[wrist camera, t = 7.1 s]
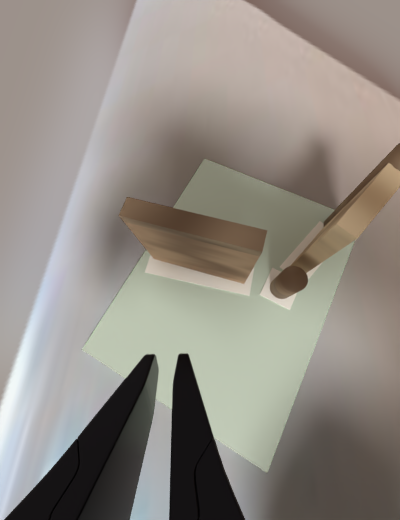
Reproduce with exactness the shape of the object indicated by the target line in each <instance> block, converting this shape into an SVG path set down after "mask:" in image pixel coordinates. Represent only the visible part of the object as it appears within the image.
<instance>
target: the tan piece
mask: <svg viewBox="0 0 400 520" xmlns="http://www.w3.org/2000/svg"><path fill="white" fill-rule="evenodd" d="M399 187H400V143H399V144H398V145H397V146H396V147H395V148H394V149H393V150H392V151H391V152H390V153H389V154H388V155H387V156H386V157H385V158H384V159H383V160H382V161H381V162H380V164H379V165H378V166H377V167H376V168H375V169H374V170H373V171H372V172H371V173H370V174H369V175H368V176H367V177H366V178H365V179H364V180H363V181H362V182H361V183H360V184H359V185H358V186H357V188H356V189H355V190H354V191H353V192H352V193H351V194H350V195H349V196H348V197H347V198H346V199H345V200H344V201H343V202H342V203H341V204H340V205H339V206H338V207H337V208H336V209H335V211H334V212H333V213H332V214H331V215H330V216H329V217H328V218H327V219H326V220H325V221H324V228H323V229H322V230H321V231H320V232H319V233H318V234H317V236H316V237H315V238H314V239H313V240H312V241H311V242H310V244H309V245H308V246H307V247H306V248H305V249H304V251H303V252H302V253H301V254H300V255H299V256H298V257H297V259H296V260H295V261H294V262H293V263H292V264H291V265H290V266H289V267H287V268H285V269H284V270H283V271H282V272H281V273H280V274H279V275H278V276H277V277H276V278H275V279H274V280H273V281H272V282H271V284H270V291H271V293H272V294H273V295H274V296H275V297H276V298H279V299H285V298H288V297H290V296H291V295H293V294H295V293H297V292H299V291H301V290H303V289H304V288H305V287H306V286H307V284H308V276H307V274H306V273H307V272H309V271H310V270H312V269H313V268H315V267H316V266H318V265H319V264H320V263H322V262H323V261H325V260H326V259H328V258H329V257H331V256H332V255H334V254H335V253H337V252H338V251H340V250H341V249H343V248H344V247H346V246H347V245H348V244H350V243H351V242H353V241H354V240H356V239H357V238H358V237H359V236H360V235H361V233H362V232H363V231H364V230H365V229H366V227H367V226H368V225H369V224H370V222H371V221H372V220H373V219H374V218H375V216H376V215H377V214H378V213H379V211H380V210H381V209H382V208H383V207H384V205H385V204H386V203H387V202H388V200H389V199H390V198H391V197H392V196H393V194H394V193H395V192H396V191H397V189H398V188H399Z"/></svg>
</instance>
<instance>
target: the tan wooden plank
mask: <svg viewBox="0 0 400 520" xmlns="http://www.w3.org/2000/svg"><path fill="white" fill-rule="evenodd" d="M119 217H120V218H121V219H122V220H123V222H125V224H126V225H127V226H128V227H129V229H130V230H131V231H132V232H133V234H134V235H135V236H136V237H137V239H138V240H139V241H140V242H141V243H142V245H143V246H144V247H145V248H146V250H147V251H148V252H149V253H150V255H151V256H152V257H153V258H154V259H156V260H159V261H163V262H167V263H170V264H174V265H177V266H181V267H185V268H188V269H192V270H195V271H199V272H203V273H206V274H210V275H213V276H217V277H221V278H224V279H228V280H231V281H235V282H239V283H242V284H244V283H245V282H246V280H247V278H248V276H249V274H250V273H251V271H252V269H253V267H254V266H255V264H256V262H257V260H258V259H259V257H260V255H261V253H262V251H263V247H264V243H265V239H266V234H267V230H264V229H260V228H256V227H251V226H247V225H243V224H239V223H235V222H230V221H226V220H222V219H218V218H214V217H209V216H205V215H201V214H197V213H193V212H188V211H184V210H180V209H176V208H172V207H167V206H163V205H159V204H155V203H151V202H146V201H142V200H138V199H134V198H130V197H127V198H126V201H125V203H124V205H123V207H122V209H121V212H120V214H119Z"/></svg>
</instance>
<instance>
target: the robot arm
mask: <svg viewBox="0 0 400 520" xmlns="http://www.w3.org/2000/svg"><path fill="white" fill-rule="evenodd" d="M158 374H159V367H158V363H157V358H156V355H155V354H146V355H144V356H143V358H142V359H141V360H140V361H139V363H138V364H137V365H136V366H135V368H134V369H133V370H132V371H131V372H130V374H129V375H128V376H127V377H126V379H125V380H124V381H123V382H122V383H121V385H120V386H119V387H118V388H117V390H116V391H115V392H114V393H113V395H112V396H111V397H110V398H109V399H108V401H107V402H106V403H105V404H104V406H103V407H102V408H101V409H100V411H99V412H98V413H97V414H96V415H95V417H94V418H93V419H92V420H91V422H90V423H89V424H88V425H87V427H86V428H85V429H84V430H83V431H82V433H81V434H80V435H79V436H78V439H76V440H75V441H74V442H73V444H72V445H71V446H70V447H69V448H68V450H67V451H66V452H65V453H64V454H63V456H62V457H61V458H60V459H59V460H58V462H57V463H56V464H55V465H54V466H53V467H52V469H51V470H50V471H49V472H48V473H47V474H46V475H45V476H44V477H43V479H42V480H41V481H40V482H39V483H38V484H37V485H36V486H35V487H34V488H33V490H32V491H31V492H30V493H29V494H28V495H27V496H26V497H25V498H24V499H23V500H22V501H21V502H20V503H19V504H18V506H17V507H16V508H15V509H14V510H13V511H12V512H11V513H10V514H9V515H8V516H7V517H6V518H5V519H4V520H130V516H131V511H132V507H133V503H134V498H135V494H136V489H137V485H138V481H139V476H140V472H141V468H142V463H143V459H144V454H145V450H146V446H147V441H148V437H149V432H150V428H151V424H152V419H153V414H154V407H155V399H156V391H157V383H158ZM169 520H245V518H244V516H243V513H242V511H241V509H240V506H239V504H238V502H237V499H236V497H235V495H234V492H233V490H232V487H231V485H230V482H229V480H228V477H227V475H226V472H225V470H224V467H223V464H222V461H221V458H220V455H219V452H218V449H217V445H216V442H215V439H214V436H213V433H212V429H211V426H210V423H209V419H208V416H207V413H206V410H205V406H204V403H203V400H202V396H201V393H200V390H199V387H198V383H197V380H196V377H195V373H194V370H193V367H192V364H191V360H190V357H189V354H188V353H180V354H179V355H178V358H177V363H176V368H175V374H174V379H173V391H172V432H171V472H170V513H169Z"/></svg>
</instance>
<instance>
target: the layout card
mask: <svg viewBox="0 0 400 520" xmlns="http://www.w3.org/2000/svg"><path fill="white" fill-rule="evenodd" d="M173 208H176V209H180V210H184V211H188V212H193V213H197V214H201V215H205V216H209V217H214V218H218V219H222V220H226V221H230V222H235V223H239V224H243V225H247V226H251V227H256V228H260V229H264V230H267V234H266V239H265V243H264V247H263V251H262V253H261V255H260V257H259V259H258V260H257V262H256V264H255V266H254V267H253V269H252V271H251V273H250V274H249V276H248V278H247V280H246V282H245V283H244V284H242V283H239V282H235V281H231V280H228V279H224V278H221V277H217V276H213V275H210V274H206V273H203V272H199V271H195V270H192V269H188V268H185V267H181V266H177V265H174V264H170V263H167V262H163V261H159V260H156V259H154V258H153V257H152V256H151V255H150V253H149V252H148V251H147V250H145V252H144V253H143V255H142V257H141V258H140V260H139V261H138V263H137V264H136V266H135V268H134V269H133V271H132V272H131V274H130V275H129V277H128V278H127V280H126V282H125V283H124V285H123V286H122V288H121V289H120V291H119V292H118V294H117V296H116V297H115V299H114V300H113V302H112V303H111V305H110V306H109V308H108V310H107V311H106V313H105V314H104V316H103V317H102V319H101V321H100V322H99V324H98V325H97V327H96V328H95V330H94V331H93V333H92V335H91V336H90V338H89V339H88V341H87V342H86V344H85V345H84V347H83V349H82V350H83V351H85V352H86V353H88V354H89V355H91V356H92V357H94V358H95V359H97V360H98V361H100V362H101V363H103V364H104V365H106V366H107V367H109V368H110V369H112V370H113V371H115V372H116V373H118V374H119V375H121V376H122V377H124V378H125V379H126V377H127V376H128V375H129V374H130V372H131V371H132V370H133V369H134V368H135V366H136V365H137V364H138V363H139V361H140V360H141V359H142V358H143V356H144V355H146V354H155V355H156V358H157V363H158V367H159V374H158V383H157V391H156V399H157V400H158V401H160V402H161V403H163V404H164V405H166V406H167V407H169V408H170V409H172V391H173V379H174V374H175V368H176V363H177V358H178V355H179V354H180V353H188V354H189V357H190V360H191V364H192V367H193V370H194V373H195V377H196V380H197V383H198V387H199V390H200V393H201V396H202V400H203V403H204V406H205V410H206V413H207V416H208V419H209V423H210V426H211V429H212V433H213V436H214V438H215V439H216V440H218V441H219V442H221V443H222V444H224V445H225V446H227V447H228V448H230V449H231V450H233V451H234V452H236V453H237V454H239V455H240V456H242V457H243V458H245V459H246V460H248V461H249V462H251V463H252V464H254V465H255V466H257V467H258V468H260V469H261V470H263V471H264V472H266V473H268V470H269V467H270V465H271V462H272V459H273V457H274V454H275V451H276V449H277V446H278V443H279V441H280V438H281V435H282V433H283V430H284V427H285V425H286V422H287V420H288V417H289V414H290V412H291V409H292V406H293V404H294V401H295V398H296V396H297V393H298V390H299V388H300V385H301V382H302V380H303V377H304V375H305V372H306V369H307V367H308V364H309V361H310V359H311V356H312V353H313V351H314V348H315V345H316V343H317V340H318V337H319V335H320V332H321V329H322V327H323V324H324V322H325V319H326V316H327V314H328V311H329V308H330V306H331V303H332V300H333V298H334V295H335V292H336V290H337V287H338V284H339V282H340V279H341V276H342V274H343V271H344V269H345V266H346V263H347V261H348V258H349V255H350V253H351V250H352V247H353V245H354V242H355V240H354V241H353V242H351V243H350V244H348V245H347V246H346V247H344V248H343V249H341V250H340V251H338V252H337V253H335V254H334V255H332V256H331V257H329V258H328V259H326V260H325V261H323V262H322V263H320V264H319V265H318V266H316V267H315V268H313V269H312V270H310V271H309V272H307V273H306V274H307V276H308V284H307V286H306V287H305V288H304V289H303V290H301V291H299V292H297V293H295V294H293V295H291V296H290V297H288V298H285V299H279V298H276V297H275V296H274V295H273V294H272V293H271V291H270V284H271V282H272V281H273V280H274V279H275V278H276V277H277V276H278V275H279V274H280V273H281V272H282V271H283V270H284V269H285V268H287V267H289V266H290V265H291V264H292V263H293V262H294V261H295V260H296V259H297V257H298V256H299V255H300V254H301V253H302V252H303V251H304V249H305V248H306V247H307V246H308V245H309V244H310V242H311V241H312V240H313V239H314V238H315V237H316V236H317V234H318V233H319V232H320V231H321V230H322V229H323V228H324V221H325V220H326V219H327V218H328V217H329V216H330V215H331V214H332V213H333V212H334V211H335V210H334V209H332V208H329V207H326V206H324V205H321V204H319V203H316V202H314V201H311V200H309V199H306V198H304V197H301V196H299V195H296V194H293V193H291V192H288V191H286V190H283V189H281V188H278V187H276V186H273V185H271V184H268V183H266V182H263V181H261V180H258V179H255V178H253V177H250V176H248V175H245V174H243V173H240V172H238V171H235V170H233V169H230V168H228V167H225V166H222V165H220V164H217V163H215V162H212V161H210V160H207V159H205V158H204V160H203V162H202V163H201V165H200V166H199V168H198V169H197V171H196V172H195V174H194V176H193V177H192V179H191V180H190V182H189V183H188V185H187V186H186V188H185V190H184V191H183V193H182V194H181V196H180V197H179V199H178V200H177V202H176V204H175V205H174V207H173Z"/></svg>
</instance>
